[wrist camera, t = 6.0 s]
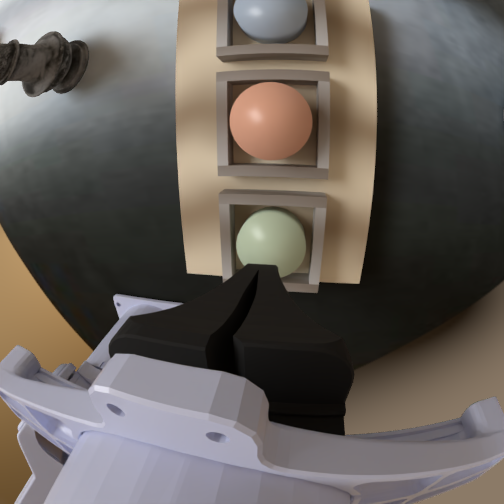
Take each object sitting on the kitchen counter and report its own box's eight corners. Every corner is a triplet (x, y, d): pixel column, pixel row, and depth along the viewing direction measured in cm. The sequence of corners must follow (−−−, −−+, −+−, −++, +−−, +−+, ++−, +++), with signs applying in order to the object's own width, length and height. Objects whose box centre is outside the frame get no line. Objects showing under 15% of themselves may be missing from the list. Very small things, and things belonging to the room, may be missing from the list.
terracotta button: (310, 159, 14) (311, 162, 13) (236, 157, 15) (230, 160, 13) (310, 88, 12) (312, 83, 11) (236, 88, 13) (229, 83, 12)
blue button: (308, 45, 12) (309, 36, 11) (238, 46, 13) (233, 37, 11) (305, -6, 10) (305, -17, 9) (239, -4, 11) (233, -15, 9)
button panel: (354, 270, 19) (363, 294, 16) (196, 260, 21) (180, 282, 18) (361, 3, 11) (371, -17, 8) (190, 6, 13) (171, -12, 10)
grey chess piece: (94, 28, 14) (-14, 5, 3) (88, 87, 16) (-34, 89, 5) (51, 50, 15) (-46, 46, 4) (47, 103, 17) (-57, 118, 6)
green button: (302, 268, 18) (303, 280, 16) (241, 264, 18) (237, 276, 17) (307, 208, 16) (308, 215, 15) (240, 205, 17) (235, 212, 15)
